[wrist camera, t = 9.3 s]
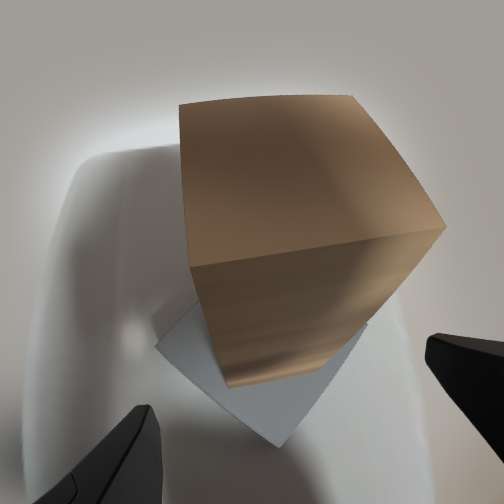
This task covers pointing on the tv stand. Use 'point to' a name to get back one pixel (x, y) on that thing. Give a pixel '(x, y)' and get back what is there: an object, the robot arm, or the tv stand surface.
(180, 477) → the tv stand surface
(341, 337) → the walnut block
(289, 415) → the grey block
